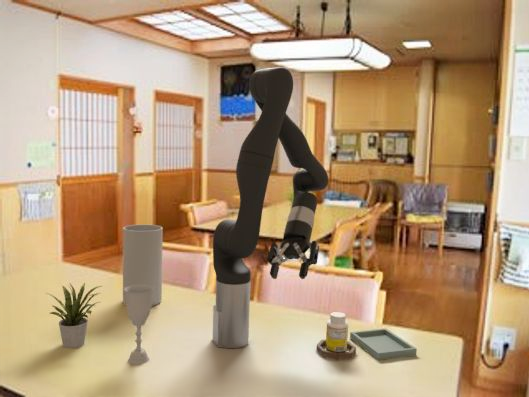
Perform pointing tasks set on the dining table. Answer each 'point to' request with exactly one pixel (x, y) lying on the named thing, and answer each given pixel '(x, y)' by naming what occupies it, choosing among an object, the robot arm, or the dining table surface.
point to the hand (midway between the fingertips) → (287, 277)
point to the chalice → (138, 316)
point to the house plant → (73, 317)
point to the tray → (383, 344)
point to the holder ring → (332, 354)
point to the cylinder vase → (143, 259)
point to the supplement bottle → (337, 333)
